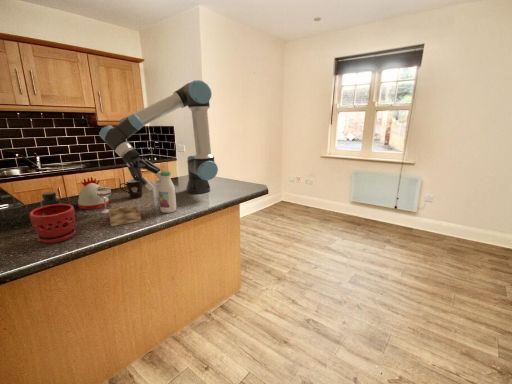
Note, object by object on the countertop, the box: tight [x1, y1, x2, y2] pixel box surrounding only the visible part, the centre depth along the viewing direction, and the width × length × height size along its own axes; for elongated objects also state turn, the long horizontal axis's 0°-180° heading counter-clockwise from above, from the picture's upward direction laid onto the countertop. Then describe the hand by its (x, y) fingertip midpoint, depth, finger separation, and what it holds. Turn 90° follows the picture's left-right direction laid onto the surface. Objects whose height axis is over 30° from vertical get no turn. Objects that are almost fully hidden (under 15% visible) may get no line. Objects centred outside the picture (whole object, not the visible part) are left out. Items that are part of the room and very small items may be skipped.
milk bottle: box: [158, 170, 177, 214], centre depth 127 cm, size 8×8×20 cm
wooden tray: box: [108, 205, 142, 227], centre depth 117 cm, size 12×12×4 cm
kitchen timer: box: [77, 176, 110, 210], centre depth 135 cm, size 14×14×15 cm
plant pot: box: [29, 203, 77, 244], centre depth 96 cm, size 13×13×12 cm
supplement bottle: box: [40, 191, 61, 216], centre depth 115 cm, size 7×7×12 cm
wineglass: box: [95, 185, 112, 214], centre depth 125 cm, size 7×7×12 cm
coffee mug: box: [119, 178, 143, 200], centre depth 150 cm, size 12×9×10 cm
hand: (159, 185), depth 125 cm, fingers open, 13 cm apart
